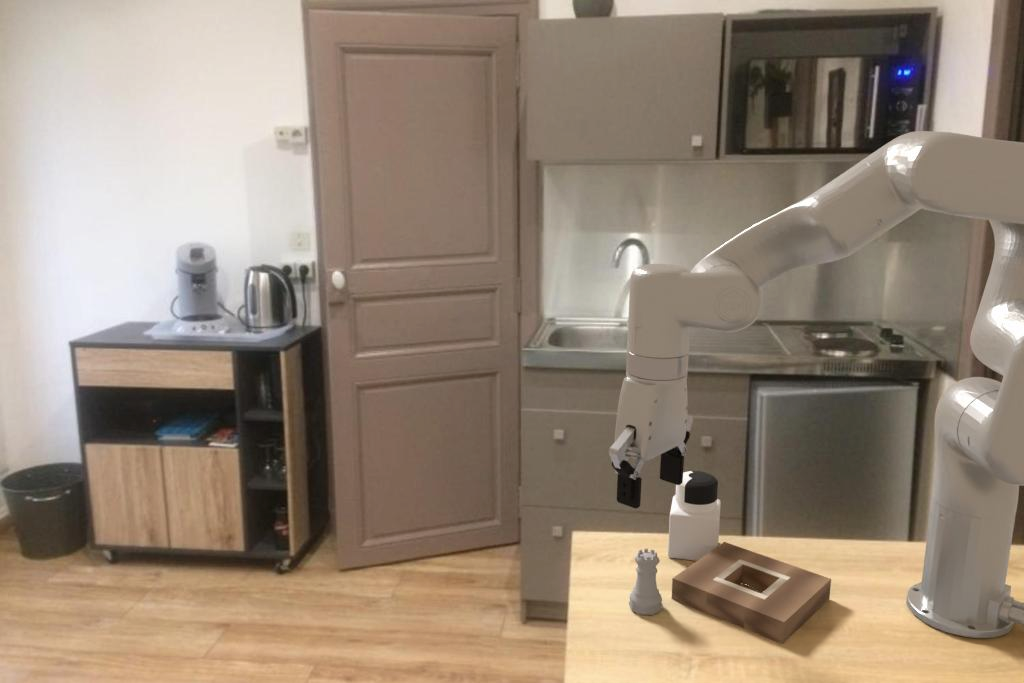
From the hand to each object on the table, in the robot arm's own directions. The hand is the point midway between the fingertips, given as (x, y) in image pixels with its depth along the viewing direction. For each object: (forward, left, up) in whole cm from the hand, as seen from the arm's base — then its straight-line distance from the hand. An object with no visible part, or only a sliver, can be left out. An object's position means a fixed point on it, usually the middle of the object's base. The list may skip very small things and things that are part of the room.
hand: (650, 492), depth 113 cm
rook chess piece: (0, 0, -17) cm, 17 cm away
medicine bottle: (+4, -18, -17) cm, 25 cm away
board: (-9, -11, -17) cm, 22 cm away
